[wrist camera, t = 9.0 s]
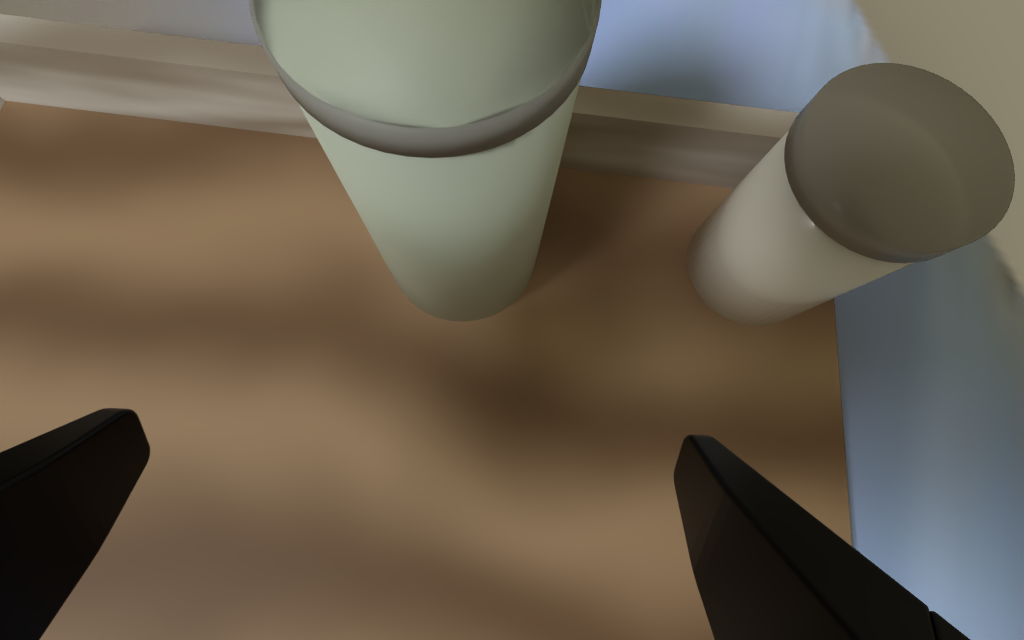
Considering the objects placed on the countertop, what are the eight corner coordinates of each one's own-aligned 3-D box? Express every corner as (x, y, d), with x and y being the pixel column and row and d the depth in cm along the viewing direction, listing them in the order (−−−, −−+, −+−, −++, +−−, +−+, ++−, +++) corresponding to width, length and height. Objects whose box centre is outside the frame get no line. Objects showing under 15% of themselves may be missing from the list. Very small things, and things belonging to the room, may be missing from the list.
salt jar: (817, 336, 17) (1031, 261, 10) (683, 321, 16) (812, 235, 10) (809, 214, 18) (996, 76, 11) (684, 199, 18) (800, 51, 11)
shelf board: (846, 732, 14) (970, 828, 11) (-197, 625, 14) (-447, 689, 10) (811, 187, 19) (888, 124, 15) (35, 93, 18) (-77, 4, 15)
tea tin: (529, 331, 16) (590, 152, 6) (376, 313, 16) (207, 107, 6) (543, 194, 17) (610, -123, 8) (401, 177, 17) (292, -164, 8)
